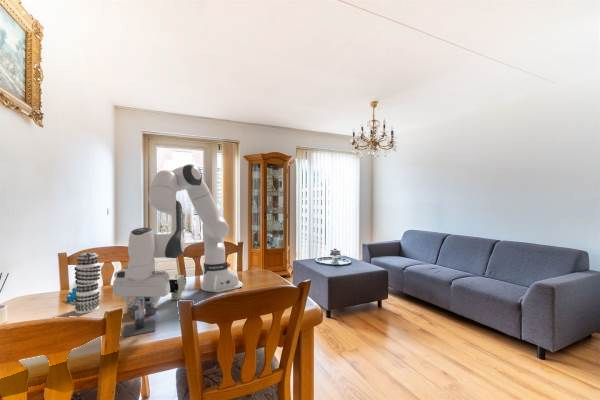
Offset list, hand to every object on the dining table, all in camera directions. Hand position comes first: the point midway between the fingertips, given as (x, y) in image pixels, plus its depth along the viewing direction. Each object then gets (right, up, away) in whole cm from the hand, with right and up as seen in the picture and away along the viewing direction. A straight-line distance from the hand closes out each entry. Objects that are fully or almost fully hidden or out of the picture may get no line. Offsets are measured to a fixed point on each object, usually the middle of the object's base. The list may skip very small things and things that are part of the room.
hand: (142, 307), depth 104 cm
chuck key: (-1, -8, 0) cm, 8 cm away
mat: (-1, -8, 0) cm, 8 cm away
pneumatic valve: (-1, -8, +31) cm, 32 cm away
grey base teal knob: (-10, -8, +19) cm, 23 cm away
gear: (-47, -8, +28) cm, 55 cm away
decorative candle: (-34, -8, +17) cm, 39 cm away
